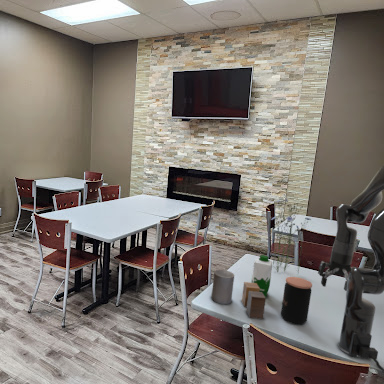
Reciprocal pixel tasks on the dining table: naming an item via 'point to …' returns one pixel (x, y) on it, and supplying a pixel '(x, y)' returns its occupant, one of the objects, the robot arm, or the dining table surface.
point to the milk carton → (262, 273)
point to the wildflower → (287, 235)
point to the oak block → (246, 289)
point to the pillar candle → (222, 286)
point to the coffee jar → (296, 300)
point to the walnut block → (256, 304)
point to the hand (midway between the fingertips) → (334, 288)
